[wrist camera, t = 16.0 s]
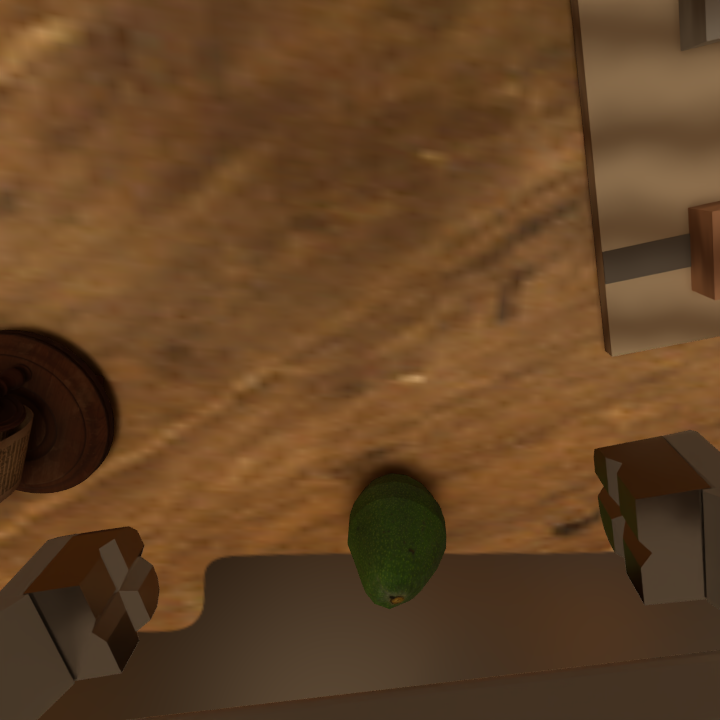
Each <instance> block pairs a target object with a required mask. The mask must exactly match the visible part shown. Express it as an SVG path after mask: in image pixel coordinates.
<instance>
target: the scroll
mask: <svg viewBox="0 0 720 720" xmlns="http://www.w3.org/2000/svg"><path fill="white" fill-rule="evenodd" d="M103 382H104V378H103V376H100V375H95V374H94V373H93V371H92V370H91V369H90V368H89V367H88V366H87V365H86V364H85V363H84V361H83V360H81V359H80V358H79V357H78V356H77V355H76V354H74V353H73V352H72V351H70V350H69V349H67V348H66V347H64V346H63V345H61V344H59V343H57V342H55V341H53V340H51V339H49V338H46V337H44V336H41V335H38V334H35V333H30V332H26V331H18V330H2V331H0V503H1V502H2V501H3V500H4V499H6V498H7V497H8V496H9V495H11V494H12V493H13V492H14V491H15V490H19V491H24V492H30V493H53V492H59V491H63V490H66V489H69V488H72V487H74V486H76V485H78V484H80V483H81V482H83V481H84V480H86V479H87V478H88V477H89V476H90V475H91V474H92V473H93V472H94V471H95V470H96V469H97V468H98V467H99V466H100V465H101V464H102V462H103V461H104V459H105V458H106V456H107V454H108V452H109V450H110V447H111V444H112V440H113V433H114V419H113V413H112V408H111V404H110V402H109V399H108V396H107V394H106V392H105V390H104V388H103V386H102V384H103Z"/></svg>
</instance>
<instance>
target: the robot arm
mask: <svg viewBox="0 0 720 720" xmlns="http://www.w3.org/2000/svg"><path fill="white" fill-rule="evenodd" d="M594 466H595V473H596V474H597V476H598V478H599V479H600V481H601V482H602V484H603V486H604V487H603V488H602V490H601V491H600V493H599V495H598V501H599V508H600V514H601V518H602V522H603V526H604V530H605V532H606V535H607V537H608V540H609V542H610V544H611V546H612V548H613V550H614V552H615V553H616V554H618V555H619V556H621V557H623V558H625V564H626V573H627V575H628V577H629V579H630V580H631V582H632V584H633V586H634V587H635V589H636V591H637V593H638V594H639V596H640V598H641V600H642V601H643V603H644V605H652V604H662V603H671V602H680V601H691V600H701V599H707V602H709V603H710V604H711V605H713V606H715V607H716V608H718V609H719V610H720V452H719V451H718V450H717V449H716V448H715V447H714V446H713V445H712V444H710V443H709V442H708V441H707V440H706V439H705V438H704V437H703V436H701V435H700V434H699V433H698V432H696V431H692V430H688V431H683V432H678V433H674V434H669V435H664V436H659V437H653V438H648V439H643V440H638V441H633V442H627V443H622V444H617V445H612V446H607V447H602V448H597V449H594ZM143 548H144V544H143V541H142V539H141V537H140V535H139V533H138V531H137V530H135V529H133V528H131V527H129V526H128V527H121V528H114V529H107V530H101V531H94V532H87V533H81V534H72V535H67V536H62V537H57V538H54V539H50V540H48V541H47V542H46V543H45V544H44V545H43V546H42V547H41V548H40V549H39V550H38V551H37V552H36V554H35V555H34V556H33V557H32V558H31V559H30V560H29V561H28V562H27V563H26V564H25V565H24V566H23V567H22V568H21V570H20V571H19V572H18V573H17V574H16V575H15V576H14V577H13V578H12V579H11V580H10V581H9V582H8V583H7V585H6V586H5V587H4V588H3V589H2V590H1V591H0V720H37V719H39V718H40V717H41V716H42V715H43V714H44V713H45V712H46V711H47V710H48V709H49V708H50V707H51V706H52V705H53V704H54V703H55V702H56V701H57V700H58V699H59V698H60V697H61V696H62V695H63V694H64V693H65V692H66V691H67V690H68V689H69V688H70V687H71V686H72V685H73V684H74V681H76V680H82V679H89V678H95V677H101V676H107V675H113V674H119V673H122V671H123V670H124V668H125V666H126V664H127V662H128V660H129V658H130V656H131V655H132V653H133V651H134V649H135V647H136V646H137V644H138V642H139V637H138V634H137V631H138V630H139V629H140V628H141V627H142V626H144V625H145V624H146V623H147V622H148V621H150V620H151V618H152V616H153V614H154V612H155V610H156V608H157V604H158V597H159V583H158V577H157V574H156V572H155V569H154V567H153V565H152V564H150V563H149V562H148V561H146V560H145V559H143V558H142V557H141V554H142V551H143ZM129 720H720V650H717V651H707V652H699V653H691V654H682V655H674V656H665V657H656V658H648V659H640V660H631V661H623V662H614V663H607V664H597V665H589V666H580V667H571V668H563V669H555V670H546V671H538V672H530V673H521V674H513V675H504V676H495V677H487V678H478V679H470V680H462V681H453V682H445V683H436V684H428V685H419V686H411V687H402V688H394V689H385V690H376V691H368V692H359V693H351V694H343V695H334V696H326V697H317V698H308V699H300V700H291V701H283V702H274V703H265V704H257V705H248V706H240V707H231V708H223V709H214V710H206V711H197V712H189V713H181V714H172V715H163V716H155V717H146V718H137V719H129Z"/></svg>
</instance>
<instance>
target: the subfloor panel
mask: <svg viewBox="0 0 720 720" xmlns="http://www.w3.org/2000/svg"><path fill="white" fill-rule="evenodd" d="M571 10H572V20H573V30H574V41H575V51H576V61H577V71H578V81H579V91H580V101H581V111H582V121H583V131H584V141H585V151H586V161H587V172H588V182H589V192H590V202H591V212H592V222H593V232H594V242H595V252H596V262H597V272H598V282H599V292H600V303H601V313H602V323H603V333H604V343H605V351H606V352H607V353H609V354H610V355H611V356H612V357H613V356H618V355H624V354H629V353H634V352H639V351H645V350H650V349H655V348H660V347H666V346H671V345H676V344H681V343H687V342H692V341H697V340H703V339H708V338H713V337H718V336H720V0H571Z"/></svg>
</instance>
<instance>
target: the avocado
mask: <svg viewBox="0 0 720 720" xmlns="http://www.w3.org/2000/svg"><path fill="white" fill-rule="evenodd" d="M348 546H349V549H350V551H351V554H352V557H353V559H354V562H355V565H356V568H357V570H358V574H359V576H360V579H361V582H362V585H363V587H364V590H365V592H366V594H367V595H368V596H369V597H370V598H371V600H372V601H373V602H374V604H377V605H380V606H383V607H386V608H388V609H391V608H393V607H395V606H398V605H400V604H402V603H405V602H407V601H410V600H411V599H413V598H414V597H415V596H416V595H417V594H418V593H419V592H420V591H421V590H422V589H423V587H424V586H425V585H426V583H427V582H428V581H429V579H430V578H431V576H432V575H433V574H434V572H435V571H436V569H437V568H438V566H439V563H440V561H441V559H442V556H443V554H444V552H445V549H446V528H445V520H444V517H443V514H442V511H441V508H440V506H439V504H438V503H437V502H436V500H435V499H434V498H433V496H432V495H431V493H430V492H429V491H428V490H427V489H426V488H425V487H424V486H423V485H422V484H421V483H420V482H418V481H416V480H414V479H413V478H411V477H409V476H407V475H400V474H393V473H390V474H387V475H384V476H382V477H379V478H376V479H375V480H373V481H372V482H371V483H370V484H369V485H368V486H367V487H366V488H365V489H364V490H363V492H362V493H361V494H360V496H359V497H358V498H357V500H356V501H355V503H354V505H353V508H352V510H351V513H350V519H349V532H348Z"/></svg>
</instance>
